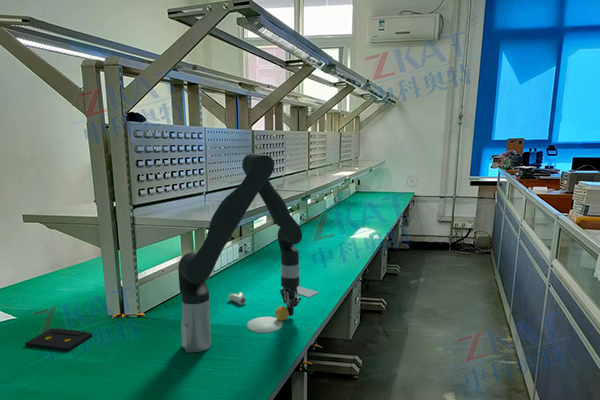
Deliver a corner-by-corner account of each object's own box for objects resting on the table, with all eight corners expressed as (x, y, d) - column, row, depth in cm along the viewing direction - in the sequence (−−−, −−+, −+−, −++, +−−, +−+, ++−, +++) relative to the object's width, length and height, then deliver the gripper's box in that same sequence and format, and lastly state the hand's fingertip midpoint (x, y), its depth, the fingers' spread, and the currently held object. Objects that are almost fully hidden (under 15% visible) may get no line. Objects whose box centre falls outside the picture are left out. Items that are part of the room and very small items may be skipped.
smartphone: (309, 297, 189) (284, 289, 198) (309, 299, 189) (284, 291, 198) (319, 292, 195) (295, 284, 204) (319, 294, 195) (295, 286, 204)
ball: (292, 318, 165) (281, 325, 162) (285, 313, 169) (274, 320, 167) (289, 306, 163) (277, 313, 160) (282, 302, 168) (271, 308, 165)
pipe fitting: (239, 298, 190) (228, 301, 185) (240, 290, 189) (228, 293, 184) (251, 303, 184) (239, 306, 179) (251, 294, 184) (240, 297, 179)
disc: (257, 336, 151) (257, 335, 151) (241, 322, 163) (241, 322, 163) (289, 327, 159) (289, 326, 159) (271, 314, 171) (271, 314, 170)
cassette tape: (92, 337, 151) (92, 332, 151) (69, 353, 140) (68, 347, 140) (51, 333, 155) (51, 327, 155) (25, 347, 144) (24, 342, 144)
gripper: (273, 271, 168) (274, 311, 171) (290, 280, 157) (290, 323, 160) (289, 268, 172) (289, 307, 175) (307, 277, 161) (306, 318, 164)
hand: (290, 315), depth 167 cm, fingers closed
